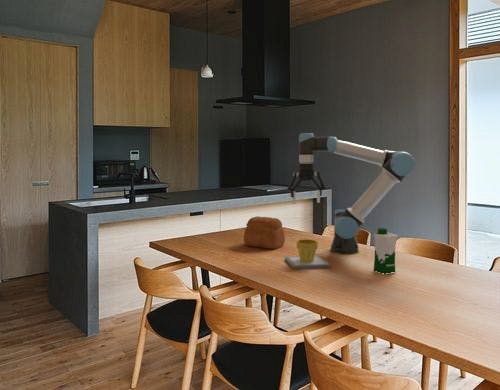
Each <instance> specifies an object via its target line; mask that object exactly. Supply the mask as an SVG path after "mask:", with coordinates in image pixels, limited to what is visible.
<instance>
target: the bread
mask: <svg viewBox="0 0 500 390" xmlns="http://www.w3.org/2000/svg"><path fill="white" fill-rule="evenodd" d="M285 237H286V236H285V230H284V228H283V223H282V221H281V220H280V219H279V218H277V217H269V216H253V217H251V218H249V220H248V221H247V223H246V228H245V229H244V233H243V242H244V245H245V246H248V247H254V248H263V249H270V250H275V249H279V248H281V247H283V246H284V244H285V241H286V240H285V239H286V238H285Z"/></svg>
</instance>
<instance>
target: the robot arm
mask: <svg viewBox="0 0 500 390" xmlns="http://www.w3.org/2000/svg"><path fill="white" fill-rule="evenodd" d="M314 152H327V153H328V152H329V153H333V154H337V155H340V156H344V157H347V158H352V159H355V160H356V159H357V160H360V161H364V162H367V163H371V164H375V165H378V166H379V168H381V169H382V170H381V173H380V174H379V176H377V178H376V179H375V180H374V181H373V182H372V184H370V186H368V188H367V189H366V190H365V191H364V192H363V194H362V195H361V196H360V197H359V198H358V199H357V201H355V203H354V204H353V205H352V206H351V207H346V208H345V209H336V210H335V211H334V225H333V226H334V227H333V228H334V229H333V230H334V231H333V232H334V233H333V239H332V242H331V244H330V251H331V252H332V253H333V252H334V253H336V254H343V255H345V254H347V255H348V254H350V255H351V254H356V253H357V254H358V252H359V244H358V241H357V237H356V236H357V234H358V231H359V229H360V228H361V227H362V226H363V225H364V224H365V218H366V217H367V216H368V215H369V214H370V213H371V212H372V210H373V209H374V208H375V207H376V206H377V205H378V203H379V202H380V201H381V200H382V199H383V198H384V197H385V196H386V195H387V193H388V192H389V191H390V190H391V189H392V188H393V187H394V185H396V184H398V183H402V182H403V180H404V179H405V178H406V177H407V176H409V175H410V174H412V172H413V171H414V170H415V166H416V161H415V158H414V157H413V155H411V154H410V153H409V152H407V151H394V150H389V149H384V150H381V149H376V148H372V147H368V146H364V145H360V144H357V143H352V142H349V141H343V140H340V139H337V137H336V136H315V135H314V133H312V132H309V133H308V132H306V133H305V132H304V133H300V134H299V137H298V157H299V158H298V161H299V162H298V163H299V164H298V172H293V173H292V178H291V179H290V181H289V184H288V186H287V191H290V197H291V198H292V204H293V205H295V204H296V191H295V190H296V189H297V188H298V186H299V185H300V184H301V183H302V181H303V182H305V181H310V182H312V184H313V185H314V186H315V187H316V188H317V189H316V203H318V204H320V203H321V197H322V194H323V193H322V191H323V190H325V189H326V186H325V184H324V182H323V180H322V178H321V175H320V172H319V171H315V172H314V161H315V160H314ZM314 176H315V177H316V179H315V178H314ZM297 177H299V178H297ZM296 180H297V181H296ZM316 180H317V181H316Z"/></svg>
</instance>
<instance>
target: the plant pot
mask: <svg viewBox="0 0 500 390" xmlns="http://www.w3.org/2000/svg"><path fill="white" fill-rule="evenodd" d="M318 243H319V242H318V241H317V240H316V239H309V238H303V239H302V238H301V239H297V240H296V248H297V250H298V255H299V257H300V261H302V262H312V261H313V260H314V256H316V253H317V252H316V251H317V249H318V248H319V247H318V245H319V244H318Z"/></svg>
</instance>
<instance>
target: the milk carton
mask: <svg viewBox="0 0 500 390" xmlns="http://www.w3.org/2000/svg"><path fill="white" fill-rule="evenodd" d="M373 238H374V262H373V263H374V264H373V270H374V271H373V272H375V271H377V272H376V273H378V272H380V273H384V274H386V273H391V272H395V273H396V247H397V246H396V245H397V240H398V234H394V233H391V232H388V229H387V228H385V227H384V228H381V227H379V228H378V229H377V232H375V233H373ZM380 273H379V274H380Z"/></svg>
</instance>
